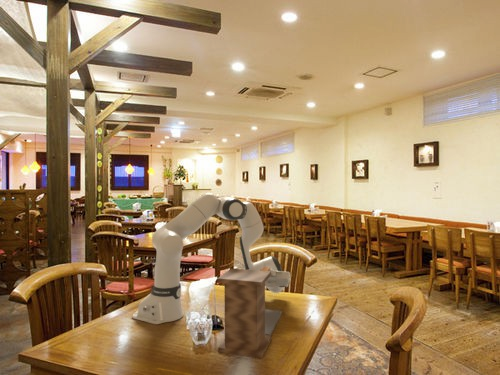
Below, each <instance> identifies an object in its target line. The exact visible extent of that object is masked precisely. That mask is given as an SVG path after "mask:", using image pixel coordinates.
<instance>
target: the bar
mask: <svg viewBox="0 0 500 375" xmlns="http://www.w3.org/2000/svg"><path fill="white" fill-rule="evenodd" d="M269 270H270V267H263V268H262V270H261V271H269Z"/></svg>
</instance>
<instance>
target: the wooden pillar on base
mask: <svg viewBox="0 0 500 375" xmlns="http://www.w3.org/2000/svg"><path fill="white" fill-rule="evenodd" d="M270 276H271V272H270V271H257V270H245V268H244V269H241V268H230V269H229V270H227V271H225V272H224V273H223V274H221V275H220V276H219V277H217V283H218V284H224V339H223V341H222V342H221V343H220V344H219V345H218V346H217V352H218V353H224V354H225V353H226V354H232V355H238V356H245V357H251V358H256V359H263V357H264V354H265V353H266V351H267V349H268V346H269V345H270V342H271V341H272V335H271V336H269V335H265V309H266V286H265V282H266V281H267V280H268V278H269V277H270Z"/></svg>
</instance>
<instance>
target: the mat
mask: <svg viewBox="0 0 500 375" xmlns="http://www.w3.org/2000/svg"><path fill="white" fill-rule="evenodd" d="M282 315H283V311H282V310H274V309H273V310H272V309H266V308H265V335H269V336H271V337H272V333H273V332H274V330H275V328H276V325H277V324H278V322H279V320H280V318H281V317H282Z"/></svg>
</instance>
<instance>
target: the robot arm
mask: <svg viewBox="0 0 500 375" xmlns="http://www.w3.org/2000/svg"><path fill="white" fill-rule="evenodd" d="M213 216H217V217H219V218H221V219H224V220H227V221H228V220H229V221H238V223H239V227H240V228H241V236H240V237H239V246H240V250H241V255H242V261H243V265H244V270H257V271H261V270H262V268H263V267H270V270H269V271H270V272H271V276H270V277H269V278H268V280H267V281H266V282H265V288H267V289H268V290H269V291H270V292H271V293H274V294H279V293H281V292H282V291H283V290H284V288H288V287H289V284H290V280H291V273H290V272H289V271H283V268H282V266H281V263H280V261H279V260H278V258H277V257H275V256H273V255H271V256H268V257H265V258H263V259H261V260H258V261H255V262H254V261H253V260H252V256H251V253H250V248H251V246H252V245H253V244H254V243H255V242H257V241H258V240H259V239H260V238H261V237H262V236H263V234H264V229H265V228H264V223H263V222H262V221H263V220H262V218H261V215H260V214H259V212H258V210H257V208H256V207H255V205H254V204H253V203H252V201H251V202H250V201H243V202H242V200H240V199H239V198H236V197H232V196H216V195H215V194H214V193H211V192H206V193H204V194H202V195H201V196H199V197H198V198H196V199H194V201H192V202H191V203H190V204H189V205H188V206H187V207H185V209H183V210H182V211H181V212H179V214H178V215H177V216H175V217H174V218H172V219H171V220H170V221H168V222H167V223H165V224H163V225H162V226H161V227H160V228H158V229H157V230H155V231H154V233H153V234H152V238H151V239H152V240H151V243H152V247H154V249H155V250H156V256H155V257H156V258H155V265H154V271H153V272H154V284H153V285H152V286H150V287H149V288H148V289H149V291H151V292H150V293H149V294H147V296H145V297H144V298H143V299H142V300H141V301H140V302H139V303H138V306H137V310H136V311H135V312H133V314H132V319H134V320H138V321H142V322H146V323H149V324H152V325H160V324H163V323H169V322H174V321H178V320H179V319H181V318H183V317H184V315H185V313H184V311H183V306H182V300H181V297H182V296H181V295H182V287H181V286H182V285H181V284H182V283H180V282H181V274H180V273H181V268H180V267H181V260H182V253H183V249H184V241H183V240H185V239H186V238H188V237H189V236H191V235H193V234H194V233H196V232H197V231H198V230H199V229H200V228H201V227H202V226H203V225H204V224H205V223H206V222H208V220H209V219H211V217H213Z"/></svg>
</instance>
